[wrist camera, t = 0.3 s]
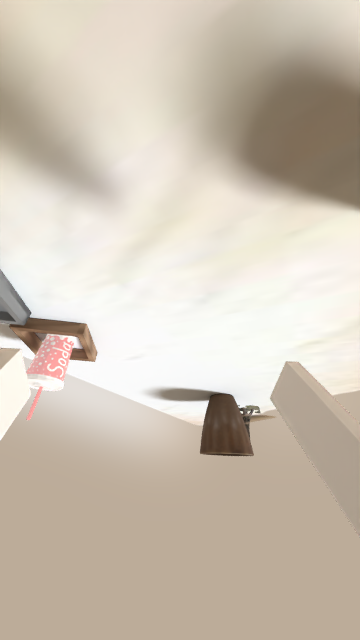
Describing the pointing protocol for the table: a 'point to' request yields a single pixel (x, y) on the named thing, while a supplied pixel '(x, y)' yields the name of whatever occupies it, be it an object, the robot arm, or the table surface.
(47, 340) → the beverage cup
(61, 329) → the holder
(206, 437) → the plant pot
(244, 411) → the eiffel tower figurine
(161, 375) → the table surface
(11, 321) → the tray
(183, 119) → the table surface
